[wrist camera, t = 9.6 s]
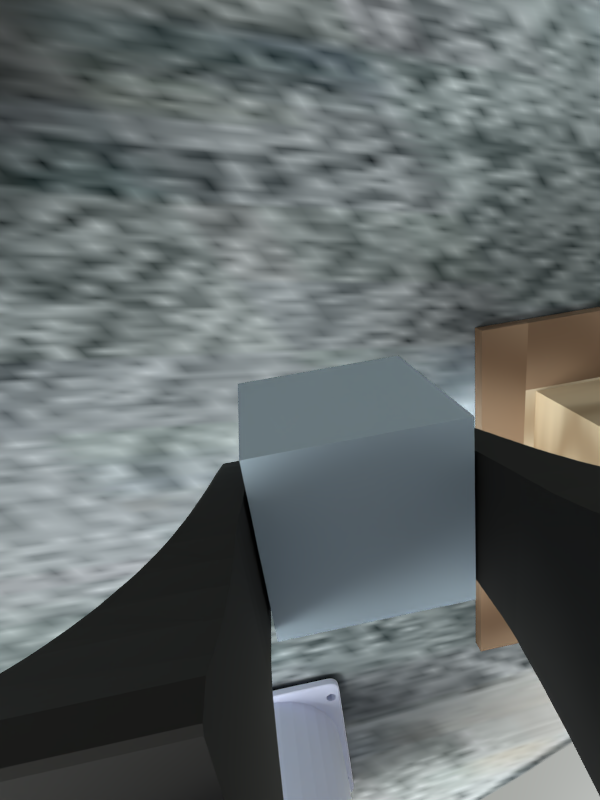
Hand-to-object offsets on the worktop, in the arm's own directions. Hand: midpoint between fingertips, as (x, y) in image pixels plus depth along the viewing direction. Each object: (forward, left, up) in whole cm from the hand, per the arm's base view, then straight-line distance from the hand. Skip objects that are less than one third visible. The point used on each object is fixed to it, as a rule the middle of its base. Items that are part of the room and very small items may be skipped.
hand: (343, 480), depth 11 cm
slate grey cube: (0, 0, -2) cm, 2 cm away
